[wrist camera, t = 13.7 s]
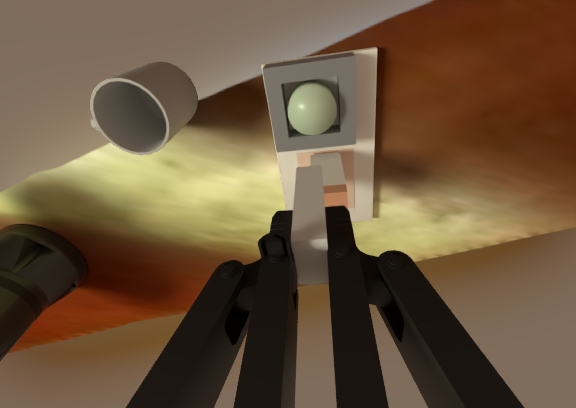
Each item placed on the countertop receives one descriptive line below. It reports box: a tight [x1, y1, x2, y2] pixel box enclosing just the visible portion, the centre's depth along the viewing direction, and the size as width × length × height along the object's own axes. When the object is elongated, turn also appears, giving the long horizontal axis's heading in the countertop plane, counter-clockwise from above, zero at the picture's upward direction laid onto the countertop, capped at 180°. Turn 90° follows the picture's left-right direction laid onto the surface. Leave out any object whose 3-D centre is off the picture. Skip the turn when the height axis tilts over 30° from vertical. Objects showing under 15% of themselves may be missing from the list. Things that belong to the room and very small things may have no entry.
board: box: [261, 47, 377, 222], centre depth 36 cm, size 12×22×4 cm, turn 8°
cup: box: [90, 62, 198, 155], centre depth 31 cm, size 7×10×9 cm
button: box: [288, 80, 337, 135], centre depth 31 cm, size 5×5×3 cm
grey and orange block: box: [310, 151, 348, 209], centre depth 33 cm, size 4×4×10 cm
